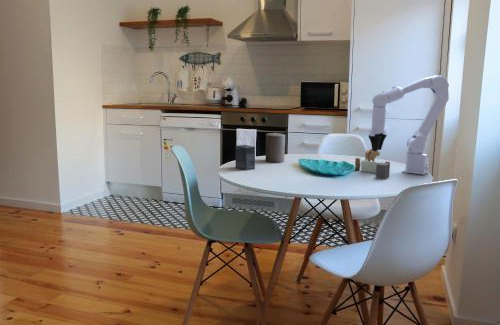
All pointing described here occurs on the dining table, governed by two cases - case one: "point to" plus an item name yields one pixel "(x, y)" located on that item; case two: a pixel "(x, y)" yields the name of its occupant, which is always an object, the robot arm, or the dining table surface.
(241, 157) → the box
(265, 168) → the dining table surface
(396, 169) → the dining table surface
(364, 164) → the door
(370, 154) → the lion figurine
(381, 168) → the block
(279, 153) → the pillar candle
